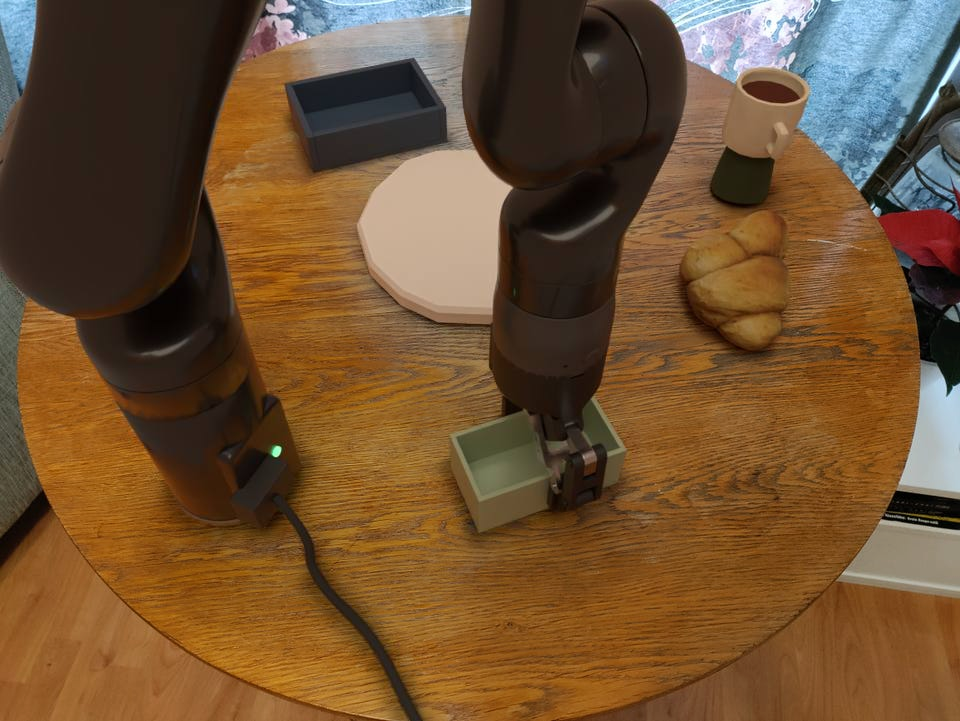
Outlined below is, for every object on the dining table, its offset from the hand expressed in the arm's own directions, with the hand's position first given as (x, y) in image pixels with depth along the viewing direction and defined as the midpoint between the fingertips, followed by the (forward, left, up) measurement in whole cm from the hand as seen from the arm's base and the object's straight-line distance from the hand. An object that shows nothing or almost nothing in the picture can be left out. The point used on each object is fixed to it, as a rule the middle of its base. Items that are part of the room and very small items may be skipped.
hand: (537, 460), depth 61 cm
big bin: (+36, -35, -1) cm, 50 cm away
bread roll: (-10, -24, -2) cm, 26 cm away
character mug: (-7, -42, -2) cm, 43 cm away
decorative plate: (+16, -23, -2) cm, 28 cm away
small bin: (0, +1, -1) cm, 2 cm away
